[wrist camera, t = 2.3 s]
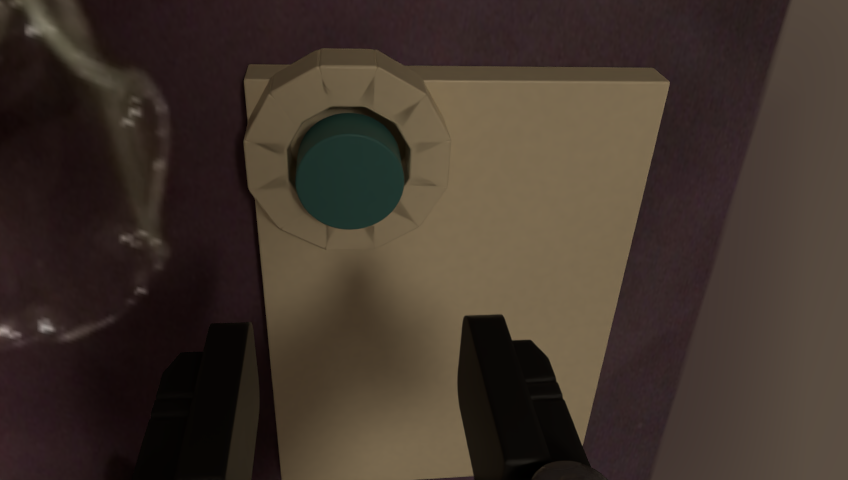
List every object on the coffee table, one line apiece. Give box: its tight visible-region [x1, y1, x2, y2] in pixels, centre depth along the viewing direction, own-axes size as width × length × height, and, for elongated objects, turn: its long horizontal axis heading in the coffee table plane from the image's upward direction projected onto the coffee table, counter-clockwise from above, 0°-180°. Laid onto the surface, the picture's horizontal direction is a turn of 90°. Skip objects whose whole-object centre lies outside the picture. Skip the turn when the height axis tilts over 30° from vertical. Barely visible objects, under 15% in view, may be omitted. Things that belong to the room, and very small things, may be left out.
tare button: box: [295, 113, 404, 230], centre depth 20 cm, size 3×3×2 cm
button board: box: [243, 48, 670, 480], centre depth 25 cm, size 13×19×3 cm
